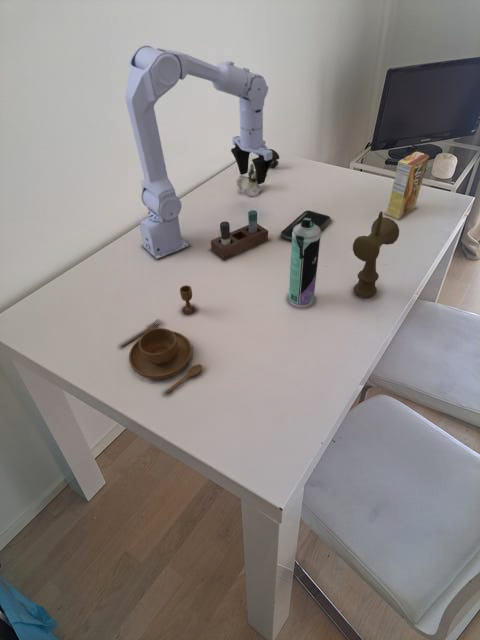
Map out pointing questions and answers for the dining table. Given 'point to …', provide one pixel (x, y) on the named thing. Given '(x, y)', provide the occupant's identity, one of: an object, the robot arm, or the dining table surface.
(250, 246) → the marker stand
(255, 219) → the teal marker
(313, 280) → the spray can
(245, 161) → the robot arm
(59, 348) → the dining table surface
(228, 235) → the black marker
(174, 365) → the place setting
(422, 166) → the candy box
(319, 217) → the phone
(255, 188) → the artificial flower
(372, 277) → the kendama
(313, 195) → the dining table surface
